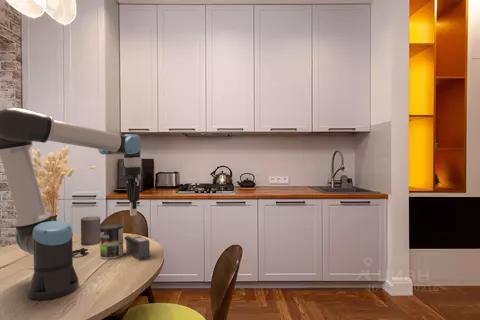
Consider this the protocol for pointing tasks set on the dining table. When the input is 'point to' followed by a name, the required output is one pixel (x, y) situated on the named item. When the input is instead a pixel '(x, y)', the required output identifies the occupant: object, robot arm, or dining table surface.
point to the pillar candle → (90, 230)
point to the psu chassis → (137, 247)
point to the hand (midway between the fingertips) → (133, 215)
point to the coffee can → (111, 241)
